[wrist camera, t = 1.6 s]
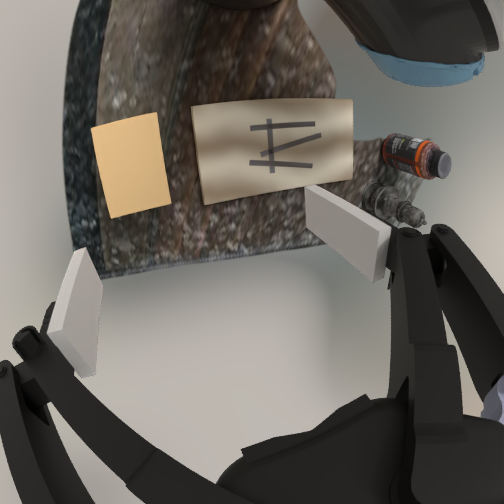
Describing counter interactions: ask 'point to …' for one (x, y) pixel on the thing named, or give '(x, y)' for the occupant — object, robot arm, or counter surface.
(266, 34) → the counter surface
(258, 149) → the birch board
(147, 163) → the block
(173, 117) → the counter surface
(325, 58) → the counter surface
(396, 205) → the grey chess piece
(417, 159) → the supplement bottle
